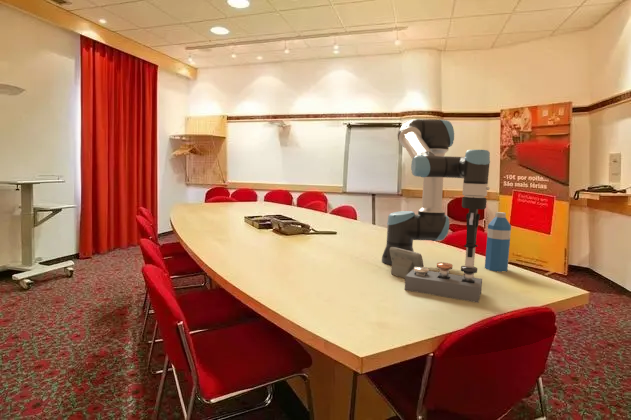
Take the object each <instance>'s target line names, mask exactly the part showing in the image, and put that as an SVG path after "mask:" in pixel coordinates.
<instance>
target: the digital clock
mask: <svg viewBox="0 0 631 420" xmlns="http://www.w3.org/2000/svg"><path fill="white" fill-rule="evenodd" d="M390 256H391V260H392V265H391V268H390V269H391V270H390V275H393V276H396V277H399V278H402V279H405V276H406V275H407V274H408V273H409V272H410V271H412V270H413V269H414V267H425V266H424V261H423V256H422V254H421V253H420V252H415V251H414V252H412V251H408V250H404V249H400V248H396V247H391V248H390Z"/></svg>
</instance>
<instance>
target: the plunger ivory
mask: <svg viewBox="0 0 631 420" xmlns="http://www.w3.org/2000/svg"><path fill="white" fill-rule="evenodd" d="M413 271H414V272H416V275H422V276H425V274H426V273H428V271H430V270H429V268H428V267H426V266H424V267H414V270H413Z"/></svg>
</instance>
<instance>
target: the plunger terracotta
mask: <svg viewBox="0 0 631 420" xmlns="http://www.w3.org/2000/svg"><path fill="white" fill-rule="evenodd" d="M453 266H454V265H453V264H452V263H449V262H444V261H443V262H442V261H441V262H437V263H436V268H438V269H439V271H438V272H439V278H441V279H449V274H450V270H452V269H453Z"/></svg>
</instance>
